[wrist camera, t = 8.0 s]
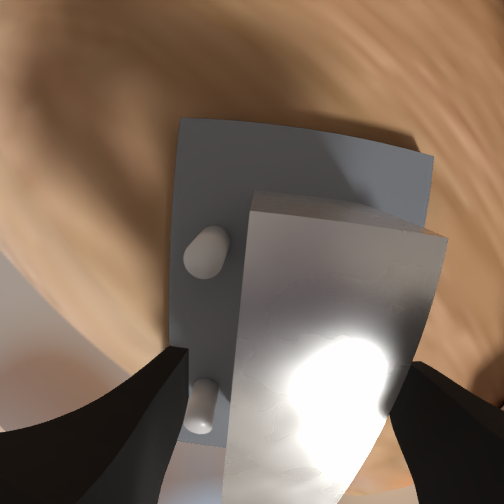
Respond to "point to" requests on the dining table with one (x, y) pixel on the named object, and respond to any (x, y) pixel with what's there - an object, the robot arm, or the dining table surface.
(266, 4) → the dining table surface
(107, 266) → the dining table surface
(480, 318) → the dining table surface
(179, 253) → the pin tray
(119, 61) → the dining table surface
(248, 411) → the block
